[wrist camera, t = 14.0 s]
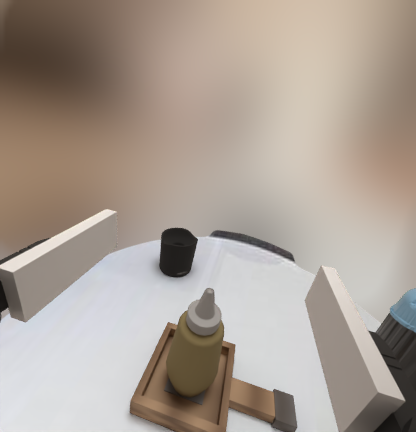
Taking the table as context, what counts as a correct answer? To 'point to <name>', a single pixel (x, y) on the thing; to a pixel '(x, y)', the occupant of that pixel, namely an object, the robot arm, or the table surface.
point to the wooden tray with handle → (206, 396)
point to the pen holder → (177, 251)
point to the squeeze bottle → (196, 347)
